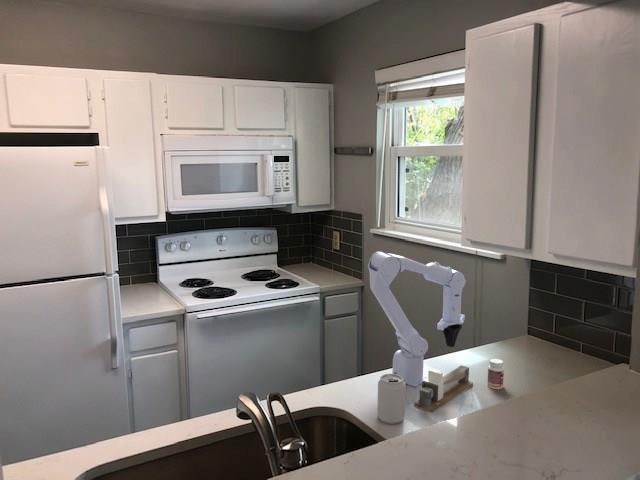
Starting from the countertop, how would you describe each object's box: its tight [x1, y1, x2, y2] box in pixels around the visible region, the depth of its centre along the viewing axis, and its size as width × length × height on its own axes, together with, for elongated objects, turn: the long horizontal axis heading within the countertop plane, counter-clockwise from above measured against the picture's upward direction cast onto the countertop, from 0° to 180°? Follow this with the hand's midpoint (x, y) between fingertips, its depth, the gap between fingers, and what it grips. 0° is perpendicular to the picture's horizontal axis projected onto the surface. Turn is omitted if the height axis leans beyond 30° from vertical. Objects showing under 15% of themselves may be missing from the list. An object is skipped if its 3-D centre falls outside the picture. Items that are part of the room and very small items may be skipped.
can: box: [376, 373, 407, 425], centre depth 145 cm, size 8×8×12 cm
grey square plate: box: [421, 381, 438, 402], centre depth 154 cm, size 5×1×5 cm, turn 48°
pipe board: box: [413, 365, 474, 413], centre depth 161 cm, size 6×25×5 cm, turn 138°
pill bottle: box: [486, 358, 505, 390], centre depth 167 cm, size 5×5×8 cm
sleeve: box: [424, 368, 444, 401], centre depth 155 cm, size 5×3×8 cm, turn 48°
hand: (450, 346), depth 175 cm, fingers closed
